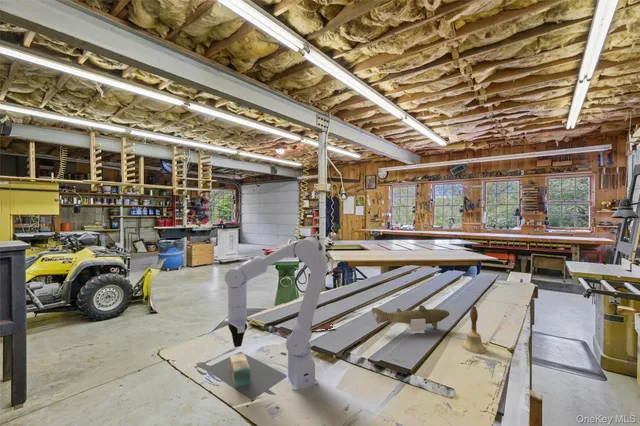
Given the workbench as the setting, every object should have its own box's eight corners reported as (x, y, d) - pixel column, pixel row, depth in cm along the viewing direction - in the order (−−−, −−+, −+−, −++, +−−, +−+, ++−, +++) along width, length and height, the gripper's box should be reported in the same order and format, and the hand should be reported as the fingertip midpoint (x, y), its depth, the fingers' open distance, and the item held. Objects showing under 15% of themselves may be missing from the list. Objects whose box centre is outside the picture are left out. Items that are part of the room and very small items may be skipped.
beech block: (244, 366, 95) (250, 383, 86) (230, 369, 93) (234, 387, 84) (244, 352, 95) (250, 368, 86) (229, 355, 93) (234, 372, 84)
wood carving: (368, 329, 125) (368, 303, 125) (442, 324, 130) (442, 300, 130) (374, 338, 116) (374, 311, 116) (454, 333, 121) (454, 307, 121)
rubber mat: (287, 377, 90) (287, 375, 90) (251, 401, 79) (251, 399, 79) (240, 353, 105) (240, 351, 105) (204, 370, 94) (204, 368, 94)
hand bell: (463, 351, 106) (464, 309, 106) (460, 341, 114) (460, 301, 114) (489, 355, 104) (490, 311, 103) (483, 344, 112) (484, 304, 111)
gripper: (221, 299, 97) (222, 338, 98) (227, 314, 84) (227, 359, 85) (243, 296, 100) (243, 334, 101) (251, 310, 87) (251, 354, 88)
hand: (237, 346), depth 93 cm, fingers closed
